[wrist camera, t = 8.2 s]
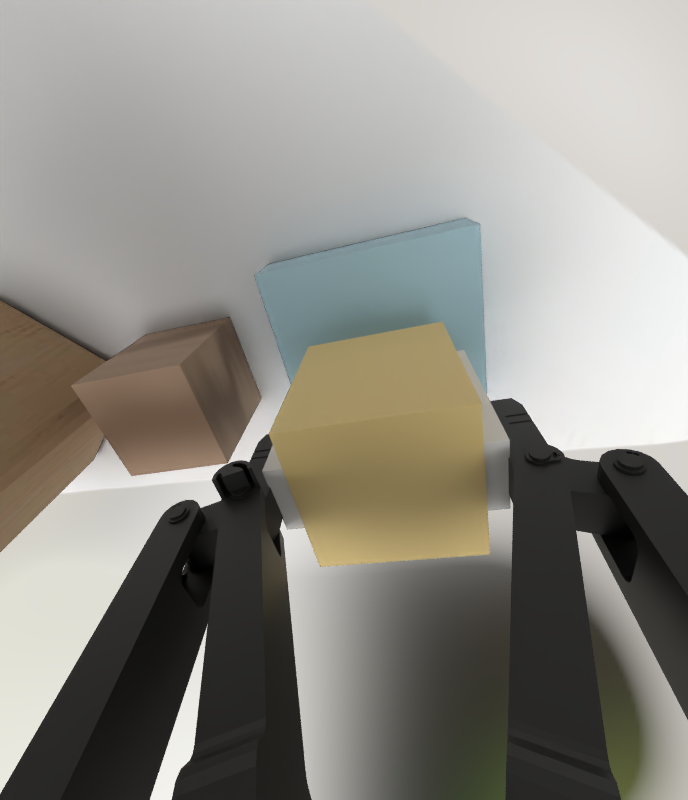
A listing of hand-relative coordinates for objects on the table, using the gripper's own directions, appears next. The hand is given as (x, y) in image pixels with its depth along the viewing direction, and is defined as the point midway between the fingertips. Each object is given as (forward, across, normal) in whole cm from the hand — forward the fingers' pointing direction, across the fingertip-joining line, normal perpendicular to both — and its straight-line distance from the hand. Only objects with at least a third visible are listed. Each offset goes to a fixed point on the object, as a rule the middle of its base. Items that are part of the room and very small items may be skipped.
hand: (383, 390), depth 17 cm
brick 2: (0, 0, 0) cm, 1 cm away
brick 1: (+7, -12, 0) cm, 14 cm away
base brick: (+7, 0, 0) cm, 7 cm away
